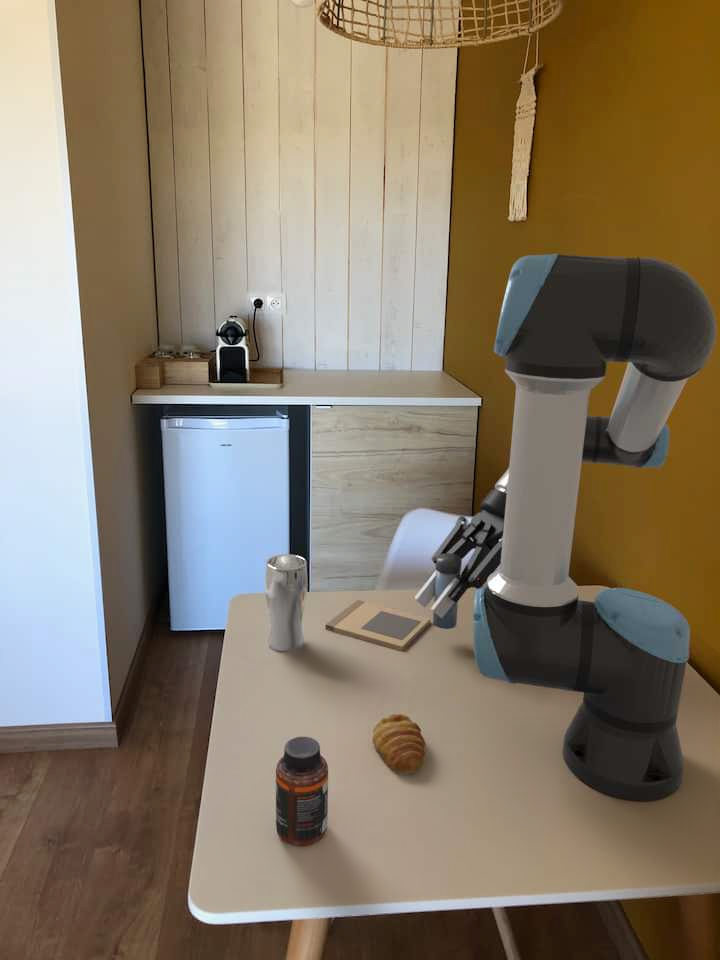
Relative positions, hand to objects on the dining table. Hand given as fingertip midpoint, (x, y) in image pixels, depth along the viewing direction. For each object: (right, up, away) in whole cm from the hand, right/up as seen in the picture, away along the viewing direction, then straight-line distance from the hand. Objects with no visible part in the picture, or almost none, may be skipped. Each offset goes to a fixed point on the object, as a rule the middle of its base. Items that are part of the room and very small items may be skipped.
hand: (428, 607), depth 129 cm
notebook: (-8, -5, +10) cm, 13 cm away
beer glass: (-24, -7, +2) cm, 25 cm away
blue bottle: (+3, -3, +3) cm, 5 cm away
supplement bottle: (-18, -19, -40) cm, 48 cm away
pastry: (-6, -16, -25) cm, 30 cm away
